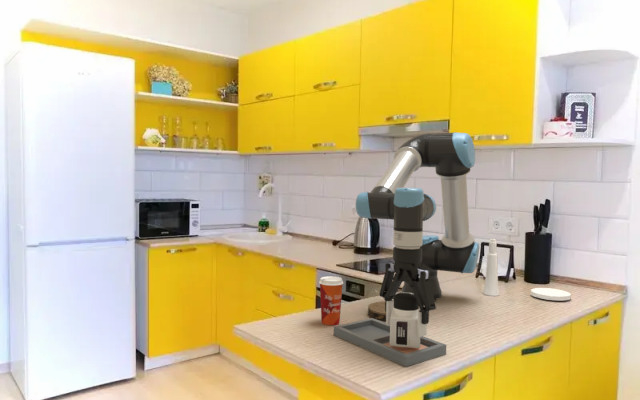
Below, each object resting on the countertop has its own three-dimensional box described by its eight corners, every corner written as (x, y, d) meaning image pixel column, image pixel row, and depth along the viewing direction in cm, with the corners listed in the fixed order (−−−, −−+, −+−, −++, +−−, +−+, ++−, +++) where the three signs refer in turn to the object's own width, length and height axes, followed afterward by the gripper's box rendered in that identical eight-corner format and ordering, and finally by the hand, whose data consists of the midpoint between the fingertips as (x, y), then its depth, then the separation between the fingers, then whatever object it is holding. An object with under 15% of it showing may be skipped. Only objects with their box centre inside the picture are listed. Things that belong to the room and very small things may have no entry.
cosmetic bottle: (501, 296, 190) (503, 240, 189) (485, 295, 190) (487, 240, 189) (496, 292, 196) (498, 238, 195) (481, 292, 196) (482, 238, 195)
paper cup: (325, 327, 147) (326, 282, 146) (314, 320, 154) (314, 277, 153) (347, 324, 151) (348, 279, 150) (335, 317, 158) (336, 275, 157)
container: (420, 349, 124) (421, 298, 123) (389, 346, 125) (390, 296, 125) (420, 339, 131) (421, 291, 131) (391, 336, 133) (392, 289, 132)
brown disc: (362, 320, 157) (363, 311, 156) (374, 307, 172) (374, 299, 171) (412, 325, 151) (412, 316, 151) (419, 312, 166) (419, 303, 166)
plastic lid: (578, 303, 182) (578, 296, 182) (542, 303, 181) (543, 296, 181) (557, 294, 196) (557, 287, 196) (524, 294, 195) (524, 287, 195)
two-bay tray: (333, 334, 141) (333, 326, 141) (371, 325, 150) (372, 317, 149) (406, 367, 118) (406, 356, 118) (446, 354, 127) (446, 344, 127)
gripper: (367, 242, 134) (365, 321, 135) (432, 254, 115) (429, 345, 117) (386, 240, 138) (385, 316, 140) (452, 251, 120) (450, 339, 121)
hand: (405, 329), depth 128 cm, fingers closed on container, 10 cm apart
